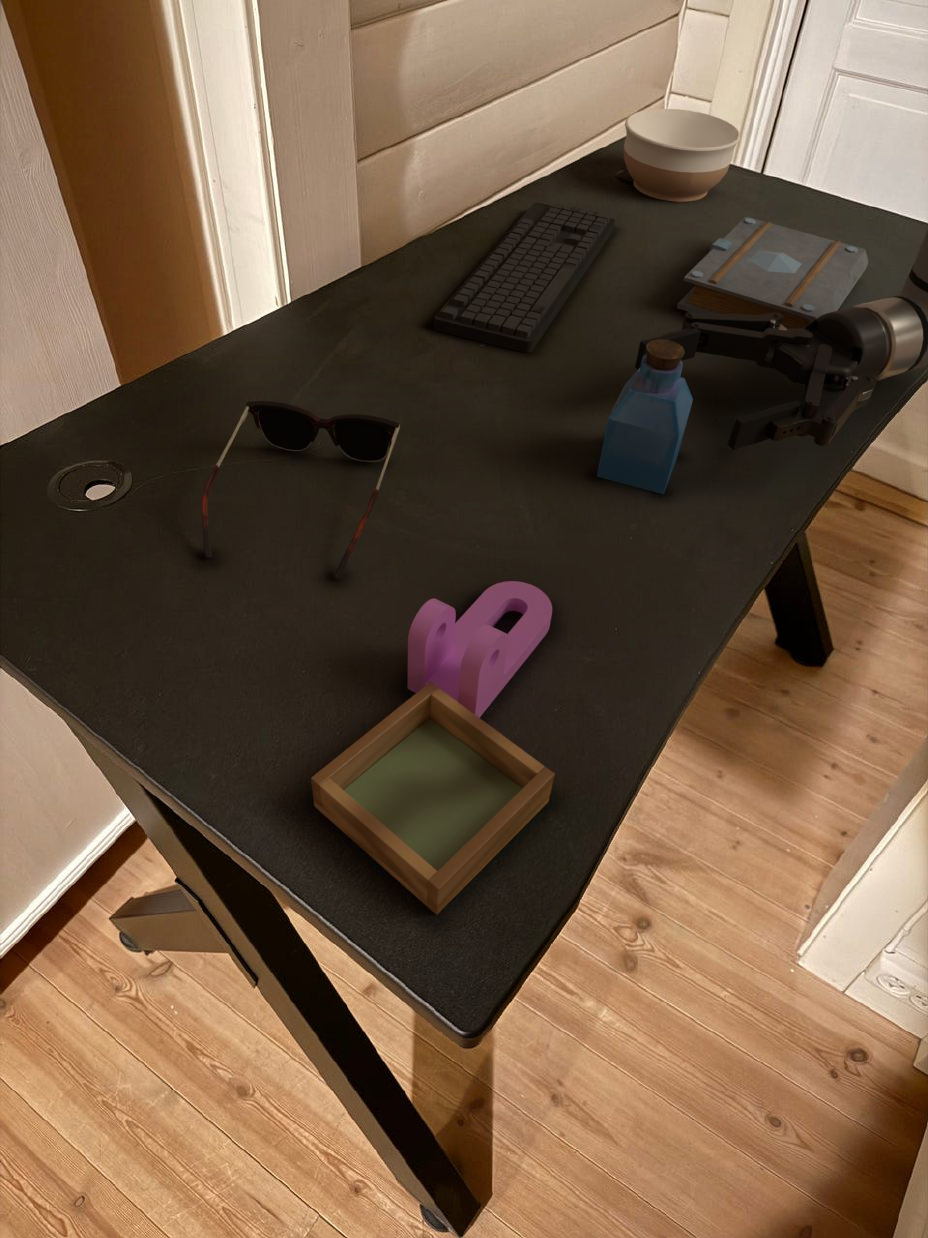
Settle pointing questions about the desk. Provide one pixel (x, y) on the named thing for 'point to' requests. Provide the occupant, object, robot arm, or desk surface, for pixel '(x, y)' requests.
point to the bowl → (678, 152)
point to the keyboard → (526, 277)
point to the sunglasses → (300, 428)
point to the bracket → (476, 643)
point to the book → (774, 274)
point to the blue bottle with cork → (648, 421)
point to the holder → (432, 794)
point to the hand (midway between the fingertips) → (684, 393)
